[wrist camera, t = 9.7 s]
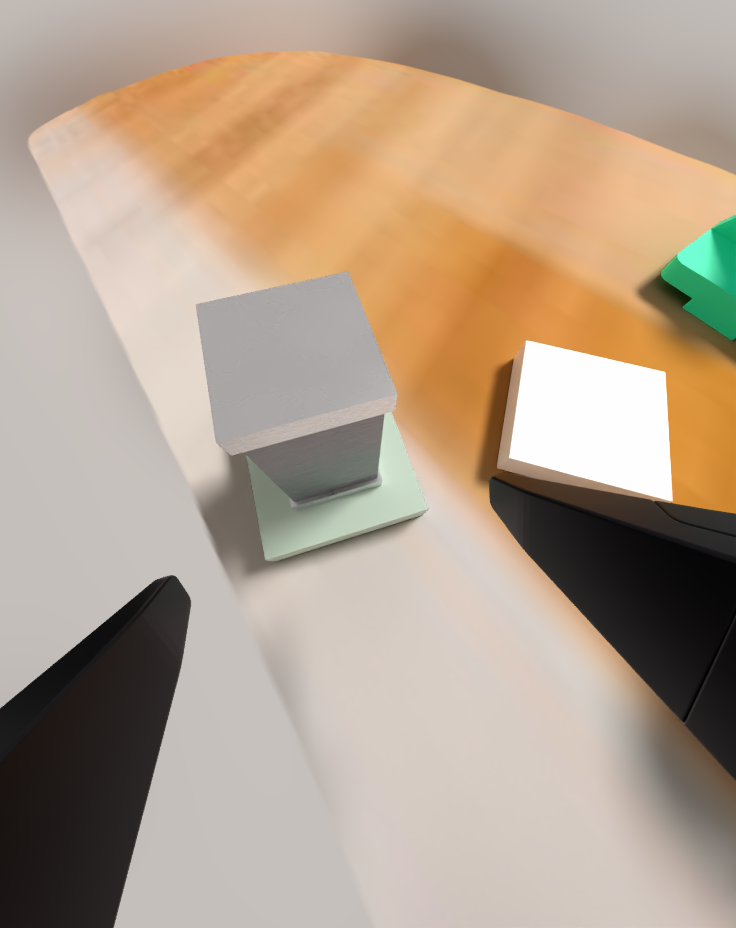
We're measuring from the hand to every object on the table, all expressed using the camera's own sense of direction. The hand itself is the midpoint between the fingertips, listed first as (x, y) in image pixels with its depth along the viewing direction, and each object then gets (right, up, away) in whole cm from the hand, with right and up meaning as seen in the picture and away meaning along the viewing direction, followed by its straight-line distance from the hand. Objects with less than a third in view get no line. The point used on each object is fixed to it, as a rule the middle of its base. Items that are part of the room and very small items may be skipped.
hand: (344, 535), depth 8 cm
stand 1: (-2, +2, +13) cm, 13 cm away
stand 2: (+16, +5, +14) cm, 22 cm away
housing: (-2, +2, +11) cm, 11 cm away
